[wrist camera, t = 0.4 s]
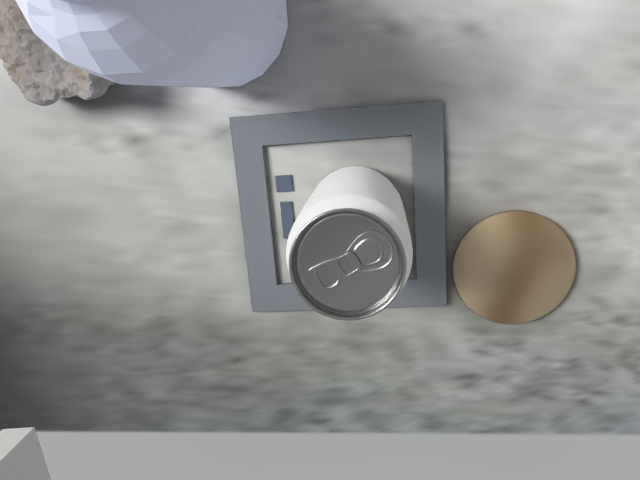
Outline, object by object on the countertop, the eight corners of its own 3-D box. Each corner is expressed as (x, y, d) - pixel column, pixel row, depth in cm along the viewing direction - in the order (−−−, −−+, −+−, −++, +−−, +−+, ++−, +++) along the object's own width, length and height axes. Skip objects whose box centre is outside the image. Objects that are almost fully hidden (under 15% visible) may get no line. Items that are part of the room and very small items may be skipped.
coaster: (453, 322, 38) (454, 325, 38) (451, 213, 36) (453, 215, 35) (570, 318, 37) (573, 322, 37) (575, 207, 35) (578, 209, 34)
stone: (2, -48, 35) (-69, -75, 29) (119, -65, 34) (69, -96, 28) (37, 107, 37) (-22, 110, 32) (147, 95, 36) (106, 96, 31)
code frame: (253, 309, 39) (252, 312, 39) (230, 117, 36) (229, 117, 35) (446, 303, 38) (446, 305, 37) (442, 100, 34) (443, 100, 34)
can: (420, 228, 37) (440, 290, 25) (339, 272, 38) (324, 350, 26) (373, 147, 35) (371, 173, 24) (291, 195, 37) (254, 242, 25)
